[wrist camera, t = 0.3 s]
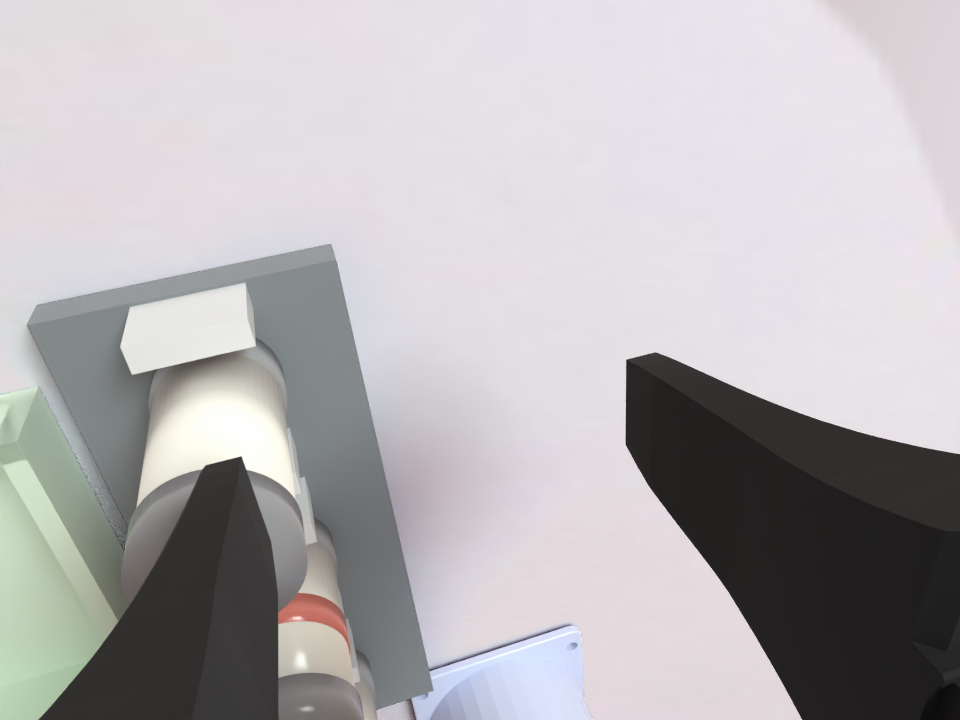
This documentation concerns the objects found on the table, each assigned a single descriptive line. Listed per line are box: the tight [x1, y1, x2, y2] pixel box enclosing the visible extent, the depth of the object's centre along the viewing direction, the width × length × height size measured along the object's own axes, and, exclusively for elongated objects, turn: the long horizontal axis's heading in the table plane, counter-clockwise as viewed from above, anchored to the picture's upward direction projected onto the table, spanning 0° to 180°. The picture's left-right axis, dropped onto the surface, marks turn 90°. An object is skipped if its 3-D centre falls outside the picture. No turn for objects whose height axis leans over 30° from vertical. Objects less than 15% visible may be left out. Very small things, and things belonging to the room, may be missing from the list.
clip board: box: [27, 244, 434, 710], centre depth 25 cm, size 20×8×3 cm, turn 6°
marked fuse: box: [278, 518, 364, 720], centre depth 22 cm, size 4×4×8 cm
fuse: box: [121, 337, 308, 612], centre depth 18 cm, size 4×4×8 cm
